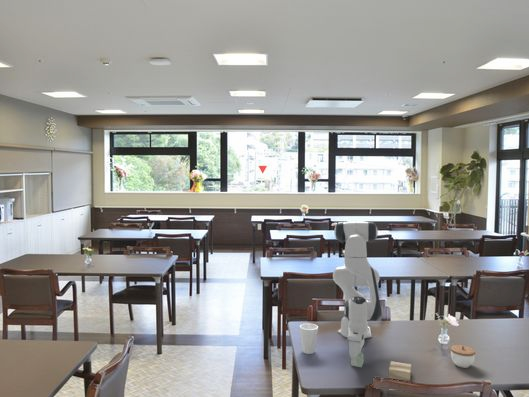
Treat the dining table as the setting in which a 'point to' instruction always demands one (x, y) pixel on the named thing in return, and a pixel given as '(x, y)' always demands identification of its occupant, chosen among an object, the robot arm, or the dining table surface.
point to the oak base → (400, 371)
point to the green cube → (358, 360)
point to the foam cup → (308, 337)
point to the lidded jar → (462, 355)
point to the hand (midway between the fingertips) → (357, 359)
